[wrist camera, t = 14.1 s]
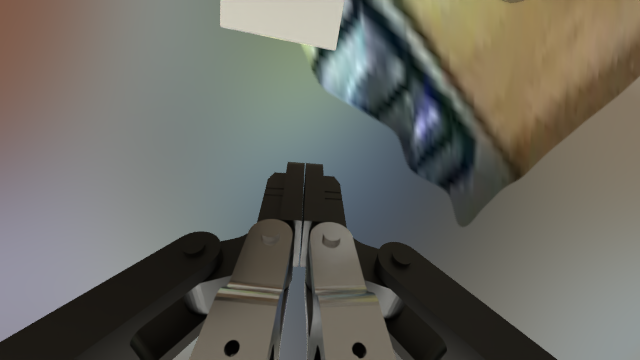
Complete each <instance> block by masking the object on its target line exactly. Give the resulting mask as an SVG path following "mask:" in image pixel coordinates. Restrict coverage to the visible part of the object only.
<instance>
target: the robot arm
mask: <svg viewBox="0 0 640 360" xmlns="http://www.w3.org/2000/svg"><path fill="white" fill-rule="evenodd" d="M503 1H506V2H510V3H513V2H520V1H523V0H503ZM304 164H305V163H295V162H288V164H287V171H286V173H274V174H273V175H272V176H271V177H270V178H269V179H268V181H267V185H266V189H265V193H264V197H263V201H262V205H261V209H260V213H259V217H258V221H257V223H256V224H254V225H253V226H252V227H251V228H250V230H249V232H248V234H246V235H244V236H241V237H239V238H235V239H230V240H225V241H221V242H220V240H219V239H218V237H217V236H215V235H214V234H212V233H209V232H193V233H189V234H187V235H184V236H183V237H181V238H179V239H177V240H175V241H174V242H172V243H171V244H169V245H167V246H165V247H164V248H162V249H160V250H158V251H156V252H155V253H153V254H151V255H150V256H148V257H146V258H144V259H143V260H141V261H140V262H137V263H136V264H134V265H132V266H131V267H129V268H127V269H125V270H124V271H122V272H120V273H118V274H117V275H115V276H113V277H112V278H110V279H108V280H106V281H105V282H103V283H101V284H100V285H98V286H96V287H94V288H93V289H91V290H89V291H88V292H86V293H84V294H83V295H81V296H79V297H77V298H75V299H74V300H72V301H70V302H69V303H67V304H65V305H63V306H62V307H60V308H58V309H56V310H55V311H53V312H51V313H49V314H48V315H46V316H44V317H43V318H41V319H39V320H37V321H36V322H34V323H32V324H31V325H29V326H27V327H25V328H24V329H22V330H20V331H18V332H17V333H15V334H13V335H12V336H10V337H8V338H7V339H5V340H3V341H1V342H0V360H172V359H173V358H175V357H176V356H177V355H178V354H179V353H180V352H181V351H182V350H183V349H184V348H186V347H187V346H188V345H189V344H190V343H191V342H192V341H193V340H195V339H196V338H197V337H198V336H199V337H198V339H197V341H196V344H195V347H194V349H193V351H192V354H191V357H190V358H189V360H278V359H279V352H280V343H281V336H282V330H283V324H284V318H285V312H286V306H287V300H288V294H289V287H290V282H291V280H292V271H293V266H295V267H298V262H299V250H300V237H301V254H300V267H306V275H305V286H304V289H305V309H306V327H307V360H396V358H395V354H394V351H393V349H394V350H395V352H396V353H397V354H398V355H399V356H400V357H401V358H402V359H403V360H557V359H556V358H554V357H553V356H552V355H551V354H549V353H548V352H547V351H545V350H544V349H543V348H541V347H540V346H539V345H538V344H536V343H535V342H534V341H532V340H531V339H530V338H528V337H527V336H526V335H525V334H523V333H522V332H521V331H519V330H518V329H517V328H515V327H514V326H513V325H511V324H510V323H509V322H508V321H506V320H505V319H503V318H502V317H501V316H500V315H499V314H497V313H496V312H494V311H493V310H492V309H491V308H489V307H488V306H487V305H486V304H484V303H483V302H482V301H480V300H479V299H478V298H476V297H475V296H474V295H472V294H471V293H470V292H469V291H467V290H466V289H465V288H463V287H462V286H461V285H459V284H458V283H457V282H456V281H454V280H453V279H452V278H450V277H449V276H448V275H446V274H445V273H444V272H443V271H441V270H440V269H439V268H437V267H436V266H435V265H433V264H432V263H431V262H429V261H428V260H427V259H426V258H424V257H423V256H422V255H420V254H419V253H418V252H417V251H415V250H414V249H412V248H411V247H409V246H407V245H405V244H402V243H398V242H389V243H386V244H384V245H382V246H381V247H380V249H377V248H374V247H370V246H367V245H365V244H362V243H360V242H358V241H357V240H355V239H354V238H353V237H352V234H351V233H350V232H349V230H348V229H347V227H346V221H345V215H344V208H343V201H342V195H341V189H340V184H339V182H338V181H337V180H336V179H335V177H331V176H323V165H322V164H310V163H306V169H305V183H304V166H305V165H304ZM303 187H304V194H303ZM302 208H303V211H302ZM301 226H302V233H301Z"/></svg>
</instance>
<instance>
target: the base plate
mask: <svg viewBox="0 0 640 360" xmlns="http://www.w3.org/2000/svg"><path fill="white" fill-rule="evenodd" d="M343 5H344V0H221V8H220V10H221V11H220V26H221V27H223V28H228V29H233V30H237V31H242V32H247V33H252V34H256V35H261V36H266V37H271V38H276V39H281V40H285V41H290V42H295V43H300V44H305V45H309V46H314V47H319V48H324V49H329V50H333V51H334V50H336V45H337V39H338V34H339V28H340V22H341V16H342V10H343Z"/></svg>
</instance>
